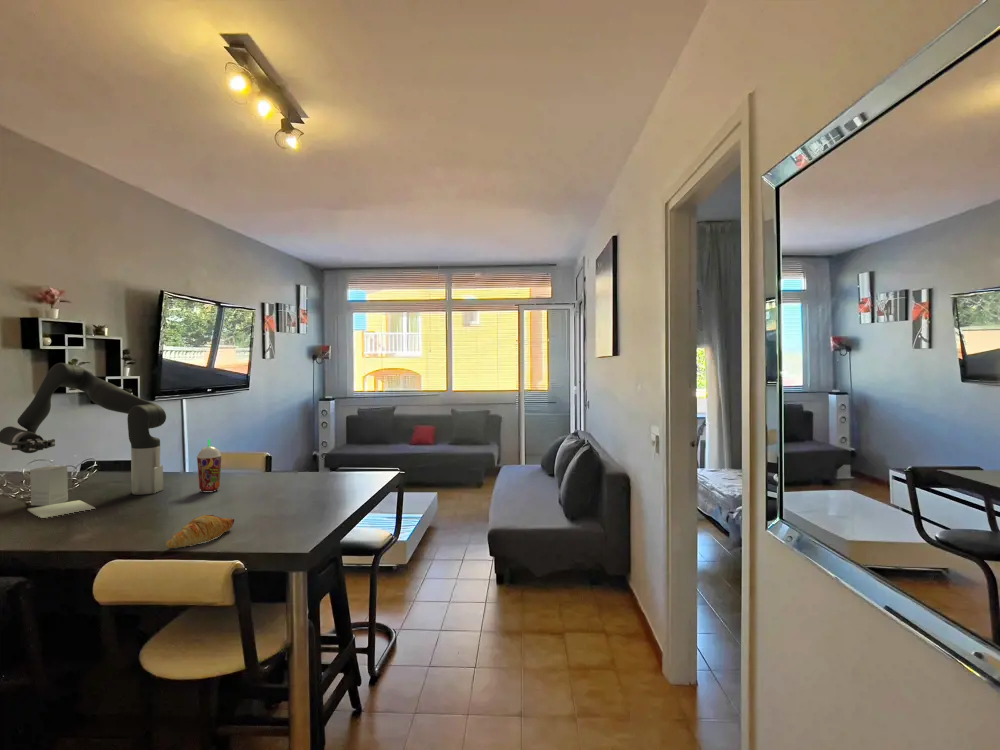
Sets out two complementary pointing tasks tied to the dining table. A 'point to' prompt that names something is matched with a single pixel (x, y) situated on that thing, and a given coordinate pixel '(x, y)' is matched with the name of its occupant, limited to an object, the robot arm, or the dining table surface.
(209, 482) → the smoothie
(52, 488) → the supplement box
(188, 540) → the croissant
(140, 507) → the dining table surface
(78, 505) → the topple mat
